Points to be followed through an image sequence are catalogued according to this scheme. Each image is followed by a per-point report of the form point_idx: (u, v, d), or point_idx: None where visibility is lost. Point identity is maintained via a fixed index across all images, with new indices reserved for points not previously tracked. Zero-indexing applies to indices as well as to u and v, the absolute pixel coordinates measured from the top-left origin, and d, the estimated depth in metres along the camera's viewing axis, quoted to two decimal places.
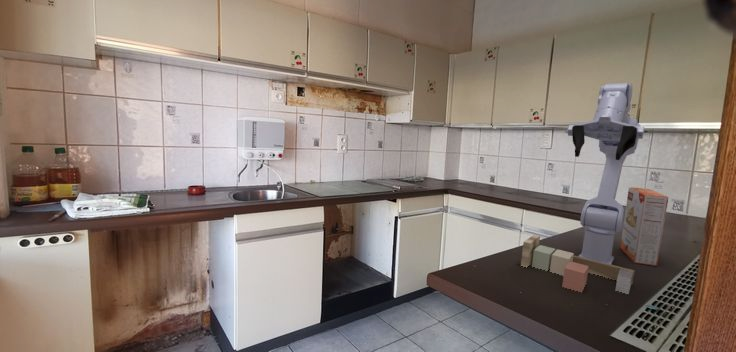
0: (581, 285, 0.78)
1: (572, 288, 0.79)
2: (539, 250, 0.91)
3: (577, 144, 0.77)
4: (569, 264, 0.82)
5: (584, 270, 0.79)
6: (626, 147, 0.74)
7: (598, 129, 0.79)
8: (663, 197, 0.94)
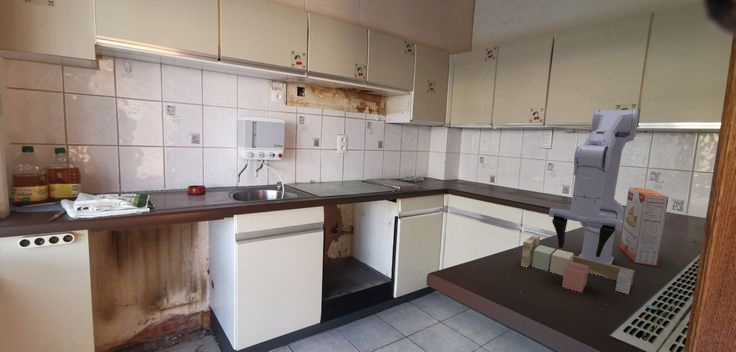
0: (581, 285, 0.78)
1: (572, 288, 0.79)
2: (539, 250, 0.91)
3: (560, 242, 0.82)
4: (569, 264, 0.82)
5: (584, 270, 0.79)
6: None
7: None
8: (663, 197, 0.94)
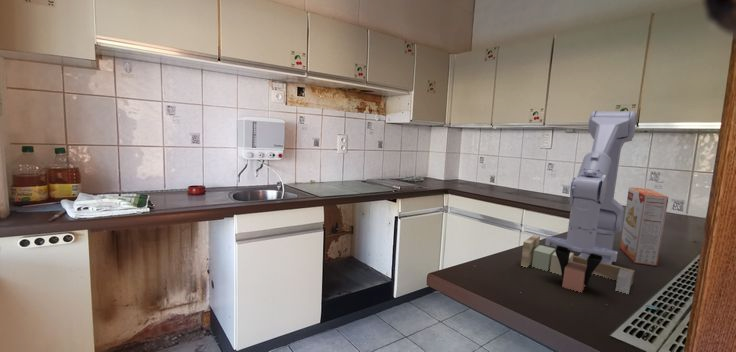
0: (581, 285, 0.78)
1: (572, 288, 0.79)
2: (539, 250, 0.91)
3: (563, 272, 0.82)
4: (569, 264, 0.82)
5: (584, 270, 0.79)
6: None
7: None
8: (663, 197, 0.94)
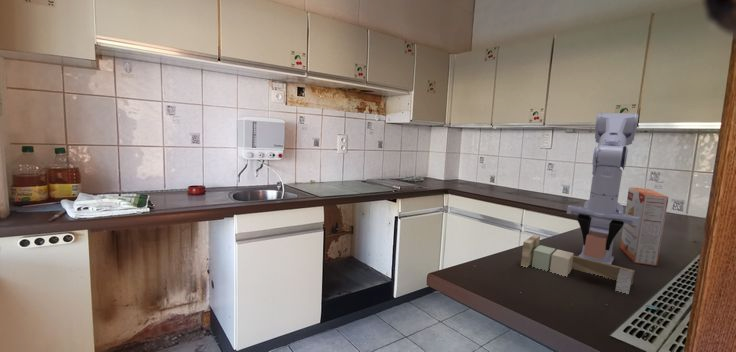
0: (603, 251, 0.80)
1: (594, 255, 0.82)
2: (539, 250, 0.91)
3: (584, 239, 0.84)
4: (590, 233, 0.85)
5: (605, 237, 0.82)
6: None
7: None
8: (663, 197, 0.94)
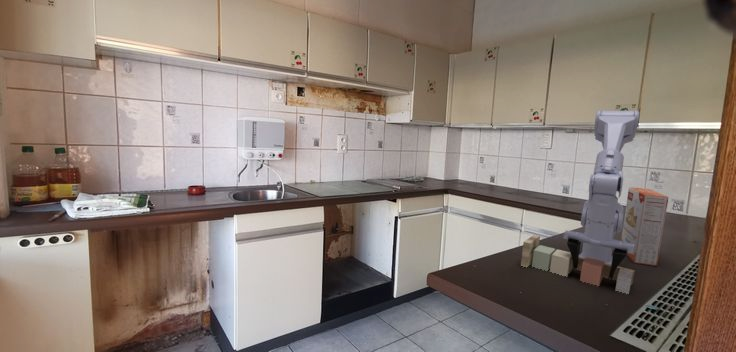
0: (598, 279, 0.82)
1: (590, 282, 0.83)
2: (539, 250, 0.91)
3: (574, 263, 0.86)
4: (586, 259, 0.86)
5: (601, 265, 0.83)
6: None
7: None
8: (663, 197, 0.94)
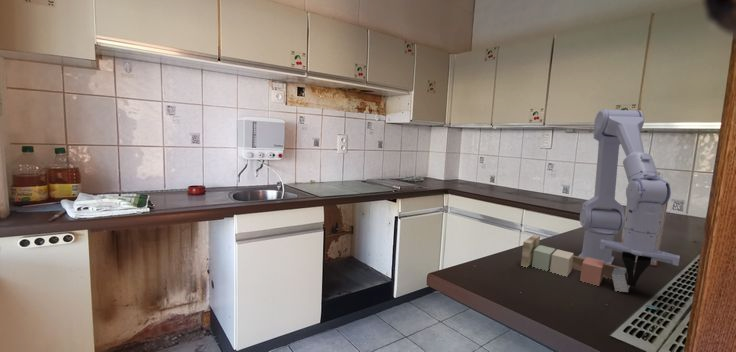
0: (598, 279, 0.82)
1: (590, 282, 0.83)
2: (539, 250, 0.91)
3: (630, 279, 0.79)
4: (586, 259, 0.86)
5: (601, 265, 0.83)
6: None
7: None
8: None
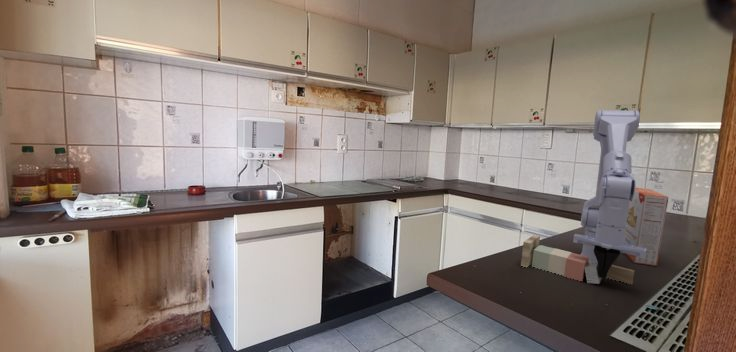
0: (582, 274, 0.84)
1: (573, 277, 0.85)
2: (539, 250, 0.91)
3: (601, 271, 0.83)
4: (570, 255, 0.88)
5: (584, 260, 0.85)
6: None
7: None
8: (663, 197, 0.94)
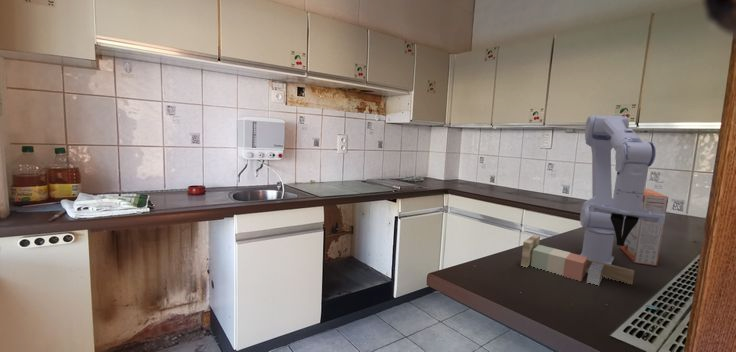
0: (581, 274, 0.84)
1: (572, 277, 0.85)
2: (538, 250, 0.91)
3: (618, 239, 0.82)
4: (569, 255, 0.88)
5: (583, 260, 0.85)
6: None
7: None
8: (663, 197, 0.94)
